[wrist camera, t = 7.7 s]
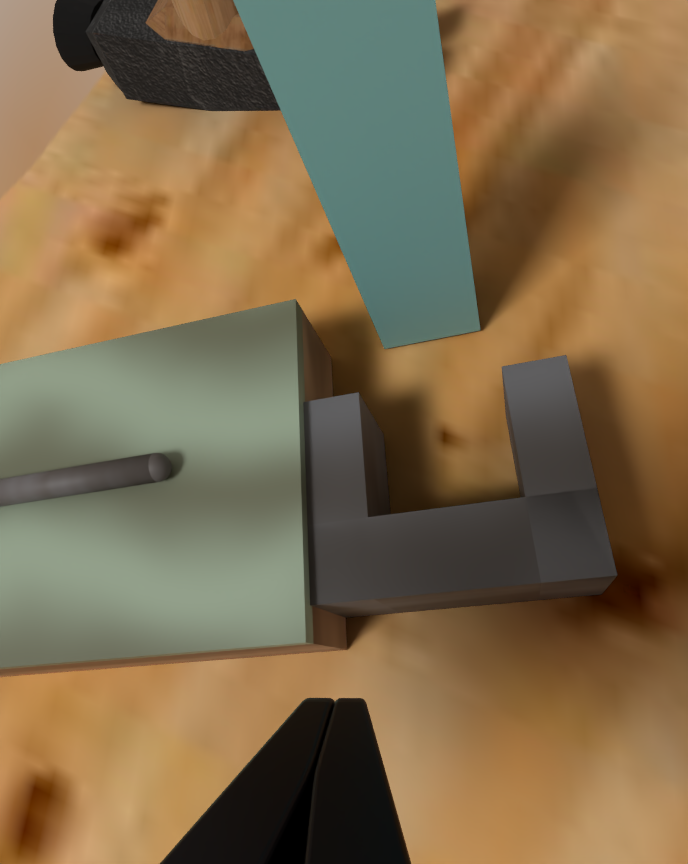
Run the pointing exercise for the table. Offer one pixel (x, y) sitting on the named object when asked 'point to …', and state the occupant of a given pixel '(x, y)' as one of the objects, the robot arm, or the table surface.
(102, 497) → the toolbox
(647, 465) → the table surface
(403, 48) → the teal rectangular block
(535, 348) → the table surface
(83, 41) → the hammer
